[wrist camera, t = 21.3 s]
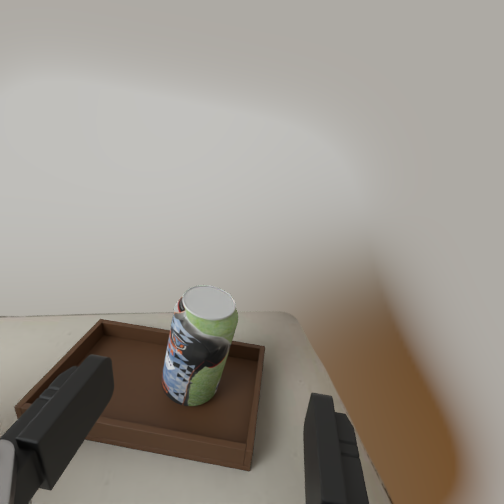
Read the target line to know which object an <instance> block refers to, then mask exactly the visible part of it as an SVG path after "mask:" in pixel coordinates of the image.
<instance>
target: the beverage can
mask: <svg viewBox="0 0 504 504" xmlns="http://www.w3.org/2000/svg"><path fill="white" fill-rule="evenodd" d="M235 307H236V304H235V301H234V299H233V297H232V296H231V295H230V294H229V293H227V292H226V291H224V290H222V289H220V288H217V287H214V286H207V285H200V286H195V287H192V288H190V289H189V290H187V291H186V292H185V293H184V295H183V297H181V298H180V299H179V300H178V302H177V303H176V305H175V307H174V313H173V318H172V324H171V329H170V335H169V340H168V346H167V351H166V357H165V362H164V368H163V373H162V379H161V384H162V388H163V391H164V393H165V394H166V395H167V397H169V398H170V399H171V400H172V401H174V402H175V403H178V404H180V405H184V406H197V405H201V404H203V403H206V402H207V401H209V400H210V399H211V398H212V397H213V396H214V395H215V393H216V391H217V389H218V385H219V382H220V379H221V376H222V372H223V369H224V366H225V362H226V359H227V356H228V353H229V349H230V346H231V343H232V339H233V336H234V333H235V329H236V326H237V323H238V313H237V310H236V308H235Z"/></svg>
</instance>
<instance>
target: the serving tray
mask: <svg viewBox="0 0 504 504" xmlns="http://www.w3.org/2000/svg"><path fill="white" fill-rule="evenodd" d="M169 335H170V330H164V329H158V328H152V327H146V326H139V325H133V324H127V323H121V322H115V321H109V320H103V319H100V320H99V321H98V322H97V323H96V324H95V325H94V326H93V327H92V328H91V329H90V330H89V331H88V332H87V333H86V334H85V335H84V336H83V337H82V338H81V339H80V340H79V341H78V342H77V343H76V344H75V345H74V346H73V347H72V348H71V349H70V350H69V351H68V352H67V354H66V355H65V356H64V357H63V358H62V359H61V360H60V361H59V362H58V363H57V364H56V365H55V366H54V367H53V368H52V369H51V370H50V371H49V372H48V373H47V374H46V375H45V376H44V377H43V378H42V379H41V380H40V381H39V382H38V383H37V384H36V385H35V386H34V387H33V388H32V389H31V390H30V391H29V392H28V393H27V394H26V395H25V396H24V397H23V398H22V399H21V400H20V401H19V402H18V403H17V405H16V406H15V411H16V414H17V418H18V419H19V418H20V416H21V415H22V414H23V413H24V412H25V411H26V410H27V409H28V408H29V407H30V406H31V405H32V403H33V402H34V401H35V400H36V399H37V398H39V396H40V395H41V394H42V393H43V392H44V391H45V389H48V386H49V385H50V384H51V383H52V382H53V381H54V380H55V379H56V378H57V376H58V375H60V374H61V373H63V372H64V371H66V370H67V369H69V368H71V367H72V366H77V367H79V365H80V364H81V363H82V362H83V361H84V360H85V359H86V357H87V356H89V355H91V354H93V355H99V356H104V357H110V358H111V360H112V368H113V377H114V391H113V395H112V397H111V400H110V401H109V403H108V405H107V406H106V408H105V409H104V411H103V412H102V414H101V415H100V417H99V418H98V420H97V421H96V423H95V424H94V426H93V427H92V429H91V431H90V432H89V434H88V435H87V437H86V438H85V439H86V440H91V441H96V442H101V443H106V444H112V445H117V446H122V447H127V448H132V449H137V450H143V451H148V452H153V453H158V454H163V455H168V456H174V457H179V458H184V459H189V460H194V461H199V462H204V463H210V464H215V465H220V466H225V467H230V468H235V469H241V470H246V471H250V466H251V460H252V454H253V446H254V438H255V429H256V420H257V412H258V403H259V395H260V386H261V377H262V369H263V360H264V351H265V346H260V345H254V344H248V343H242V342H236V341H232V343H231V346H230V349H229V353H228V356H227V359H226V362H225V366H224V369H223V372H222V376H221V379H220V382H219V385H218V389H217V391H216V393H215V395H214V396H213V397H212V398H211V399H210V400H209V401H207V402H206V403H203V404H201V405H197V406H184V405H180V404H178V403H175V402H174V401H172V400H171V399H170V398H169V397H167V395H166V394H165V393H164V391H163V388H162V384H161V379H162V373H163V368H164V362H165V357H166V351H167V346H168V340H169Z"/></svg>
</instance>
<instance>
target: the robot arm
mask: <svg viewBox="0 0 504 504" xmlns="http://www.w3.org/2000/svg"><path fill="white" fill-rule="evenodd" d="M113 391H114V377H113V368H112V360H111V358H110V357H104V356H99V355H93V354H91V355H89V356H87V357H86V359H85V360H84V361H83V362H82V363H81V364H80V365H79V367H77V366H72V367H71V368H69V369H67V370H66V371H64V372H63V373H61V374H60V375H58V376H57V378H56V379H55V380H54V381H53V382H52V383H51V384H50V385H49V386H48V389H45V391H44V392H43V393H42V394H41V395H40V396H39V398H37V399H36V400H35V401H34V402H33V403H32V405H31V406H30V407H29V408H28V409H27V410H26V411H25V412H24V413H23V414H22V415H21V416H20V418H19V419H18V420H17V421H16V422H15V423H14V424H13V425H12V426H11V427H10V428H9V429H8V430H7V432H6V433H5V434H4V435H3V436H2V437H1V438H0V504H32V502H31V498H32V497H33V496H34V494H35V493H36V491H37V490H38V488H42V489H47V490H52V488H53V487H54V485H55V484H56V482H57V481H58V479H59V478H60V476H61V475H62V473H63V472H64V470H65V469H66V467H67V466H68V464H69V463H70V461H71V459H72V458H73V456H74V455H75V453H76V452H77V450H78V449H79V447H80V446H81V444H82V443H83V441H84V440H85V438H86V437H87V435H88V434H89V432H90V431H91V429H92V427H93V426H94V424H95V423H96V421H97V420H98V418H99V417H100V415H101V414H102V412H103V411H104V409H105V408H106V406H107V405H108V403H109V401H110V400H111V397H112V395H113ZM304 466H305V494H306V504H369V501H368V496H367V491H366V486H365V481H364V476H363V471H362V466H361V462H360V459H359V452H358V447H357V442H356V437H355V432H354V428H353V426H352V424H351V423H350V421H349V419H348V417H347V416H346V414H343V413H337V412H335V410H334V404H333V398H332V396H329V395H323V394H317V393H312V394H311V397H310V401H309V405H308V409H307V413H306V417H305V422H304Z"/></svg>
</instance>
